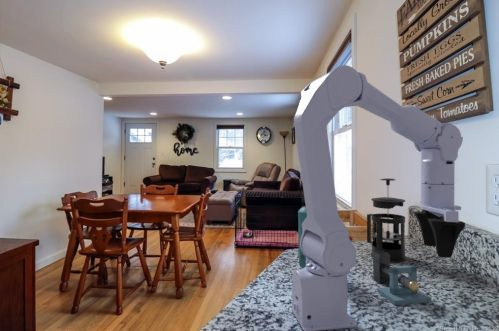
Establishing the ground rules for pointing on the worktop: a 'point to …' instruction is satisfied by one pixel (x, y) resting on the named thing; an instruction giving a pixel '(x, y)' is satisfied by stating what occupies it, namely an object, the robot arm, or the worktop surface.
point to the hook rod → (383, 271)
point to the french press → (378, 219)
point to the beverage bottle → (301, 217)
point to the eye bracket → (402, 287)
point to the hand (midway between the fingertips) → (436, 251)
